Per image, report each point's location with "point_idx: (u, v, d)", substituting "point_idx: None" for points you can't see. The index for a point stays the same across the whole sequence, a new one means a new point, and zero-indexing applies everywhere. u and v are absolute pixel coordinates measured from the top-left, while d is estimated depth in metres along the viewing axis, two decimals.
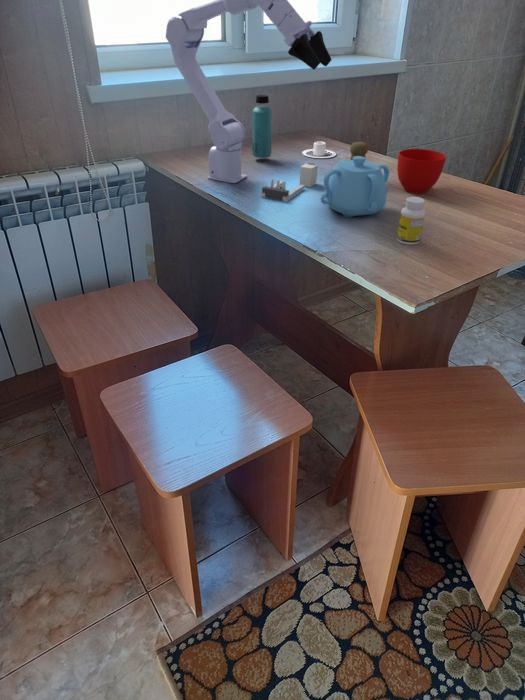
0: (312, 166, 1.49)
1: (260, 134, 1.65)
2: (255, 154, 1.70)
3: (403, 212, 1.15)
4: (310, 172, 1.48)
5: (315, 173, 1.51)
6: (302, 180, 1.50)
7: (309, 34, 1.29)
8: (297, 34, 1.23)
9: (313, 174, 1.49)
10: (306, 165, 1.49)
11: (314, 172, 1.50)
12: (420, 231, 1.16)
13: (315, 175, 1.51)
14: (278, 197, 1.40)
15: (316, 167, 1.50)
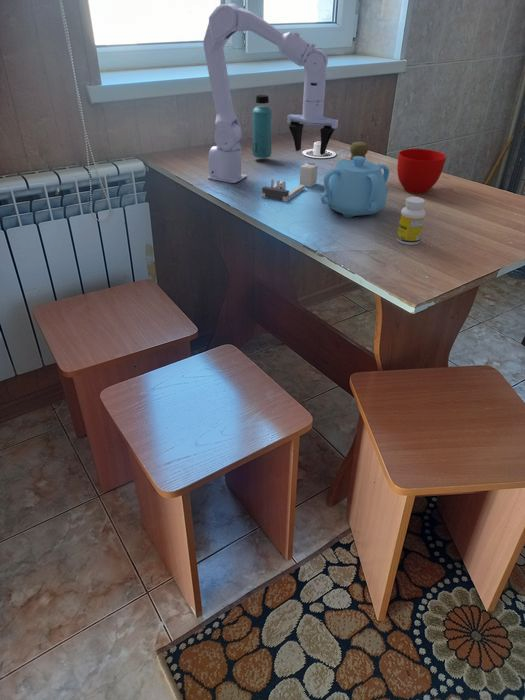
0: (312, 166, 1.49)
1: (260, 134, 1.65)
2: (255, 154, 1.70)
3: (403, 212, 1.15)
4: (310, 172, 1.48)
5: (315, 173, 1.51)
6: (302, 180, 1.50)
7: None
8: None
9: (313, 174, 1.49)
10: (306, 165, 1.49)
11: (314, 172, 1.50)
12: (420, 231, 1.16)
13: (315, 175, 1.51)
14: (278, 197, 1.40)
15: (316, 167, 1.50)
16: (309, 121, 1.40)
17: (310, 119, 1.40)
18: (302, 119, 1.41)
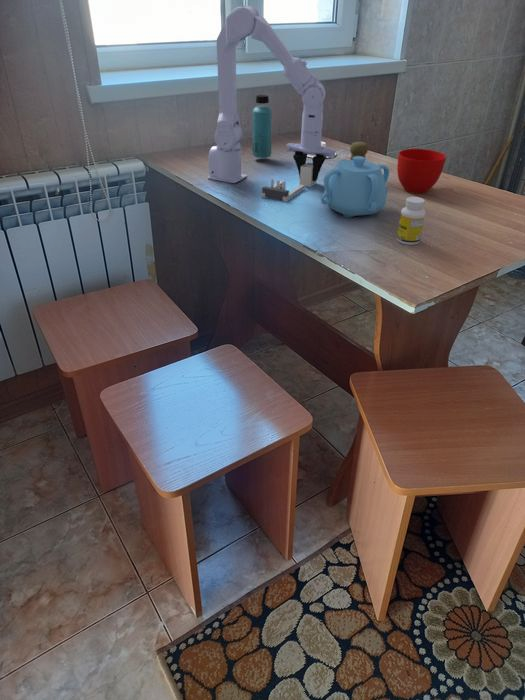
0: (312, 166, 1.49)
1: (260, 134, 1.65)
2: (255, 154, 1.70)
3: (403, 212, 1.15)
4: (310, 171, 1.48)
5: None
6: (302, 180, 1.50)
7: None
8: None
9: None
10: (306, 165, 1.49)
11: None
12: (420, 231, 1.16)
13: None
14: (278, 197, 1.40)
15: None
16: (307, 151, 1.44)
17: (308, 149, 1.44)
18: (300, 149, 1.45)
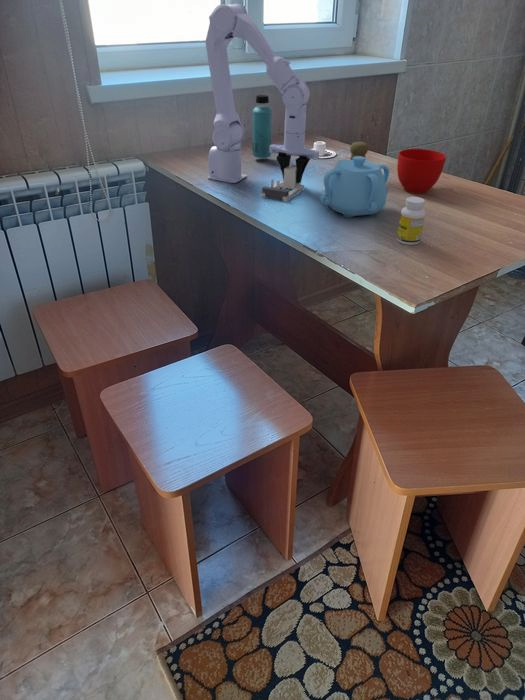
0: None
1: (260, 134, 1.65)
2: (255, 154, 1.70)
3: (403, 212, 1.15)
4: (294, 174, 1.45)
5: None
6: (286, 182, 1.48)
7: (280, 148, 1.46)
8: None
9: None
10: (290, 167, 1.47)
11: None
12: (420, 231, 1.16)
13: None
14: (278, 197, 1.40)
15: None
16: (290, 152, 1.42)
17: (291, 150, 1.41)
18: (283, 150, 1.43)
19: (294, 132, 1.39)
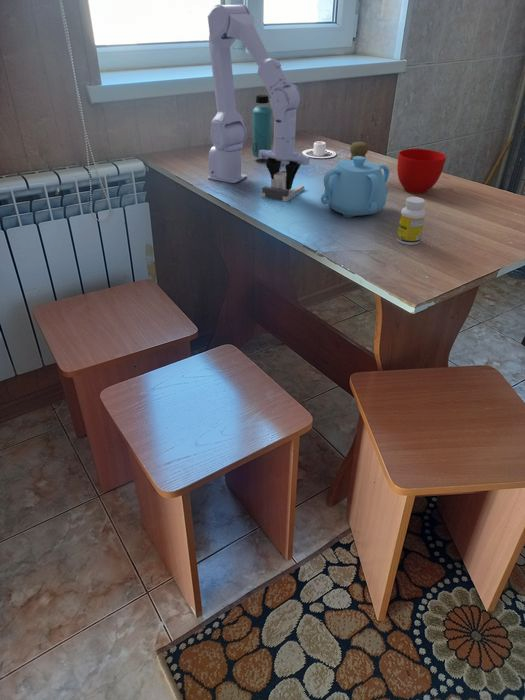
0: None
1: (260, 134, 1.65)
2: (255, 154, 1.70)
3: (403, 212, 1.15)
4: (283, 180, 1.41)
5: None
6: None
7: (270, 154, 1.41)
8: None
9: None
10: (280, 173, 1.42)
11: None
12: (420, 231, 1.16)
13: None
14: (278, 197, 1.40)
15: None
16: (280, 158, 1.37)
17: (281, 156, 1.37)
18: (273, 156, 1.38)
19: (280, 137, 1.34)
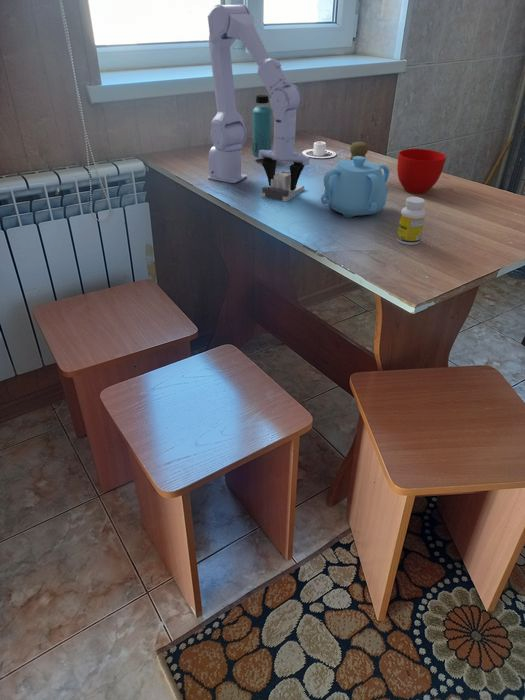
0: (286, 175, 1.41)
1: (260, 134, 1.65)
2: (255, 154, 1.70)
3: (403, 212, 1.15)
4: None
5: (289, 182, 1.43)
6: None
7: (270, 154, 1.41)
8: None
9: (287, 183, 1.42)
10: (280, 174, 1.42)
11: (288, 181, 1.43)
12: (420, 231, 1.16)
13: (289, 184, 1.44)
14: (278, 197, 1.40)
15: None
16: (280, 158, 1.37)
17: (281, 156, 1.37)
18: (273, 156, 1.38)
19: (280, 137, 1.34)
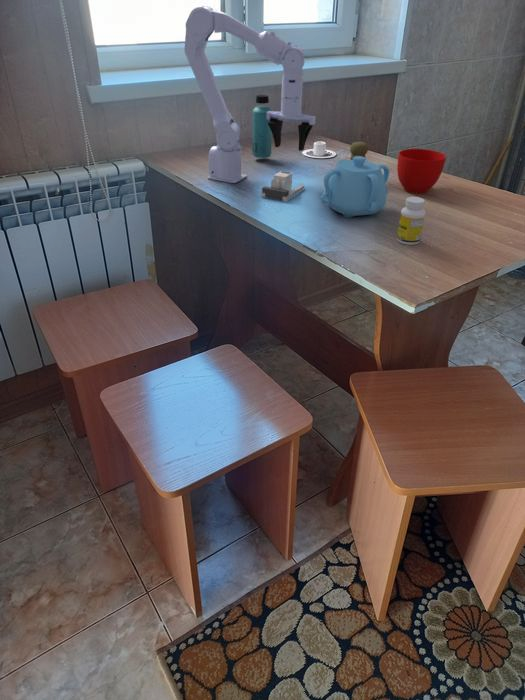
0: (286, 175, 1.41)
1: (260, 134, 1.65)
2: (255, 154, 1.70)
3: (403, 212, 1.15)
4: None
5: (289, 182, 1.43)
6: None
7: None
8: None
9: (287, 183, 1.42)
10: (280, 174, 1.42)
11: (288, 181, 1.43)
12: (420, 231, 1.16)
13: (289, 184, 1.44)
14: (278, 197, 1.40)
15: (291, 176, 1.43)
16: (287, 117, 1.42)
17: (288, 116, 1.42)
18: (280, 116, 1.43)
19: (294, 97, 1.39)
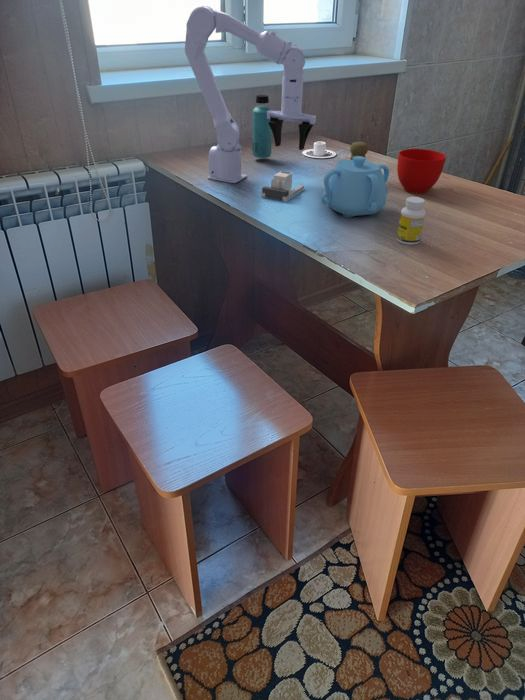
0: (286, 175, 1.41)
1: (260, 134, 1.65)
2: (255, 154, 1.70)
3: (403, 212, 1.15)
4: None
5: (289, 182, 1.43)
6: None
7: None
8: None
9: (287, 183, 1.42)
10: (280, 174, 1.42)
11: (288, 181, 1.43)
12: (420, 231, 1.16)
13: (289, 184, 1.44)
14: (278, 197, 1.40)
15: (291, 176, 1.43)
16: (287, 117, 1.43)
17: (288, 115, 1.43)
18: (281, 115, 1.44)
19: (295, 96, 1.40)
